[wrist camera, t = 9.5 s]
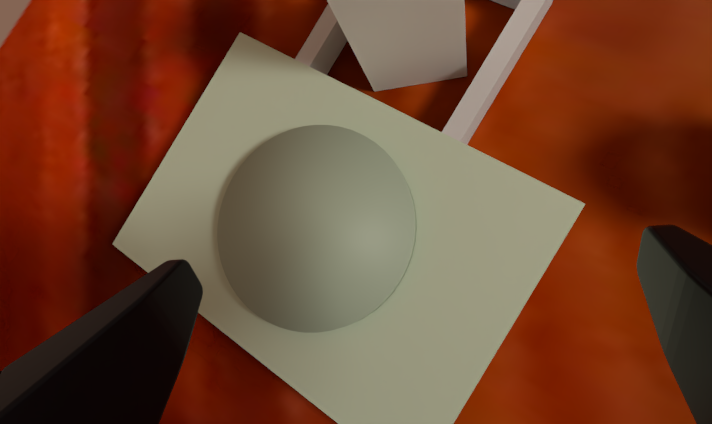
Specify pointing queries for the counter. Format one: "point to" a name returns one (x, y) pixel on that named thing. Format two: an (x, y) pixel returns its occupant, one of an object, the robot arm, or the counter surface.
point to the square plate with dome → (352, 228)
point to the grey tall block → (405, 39)
